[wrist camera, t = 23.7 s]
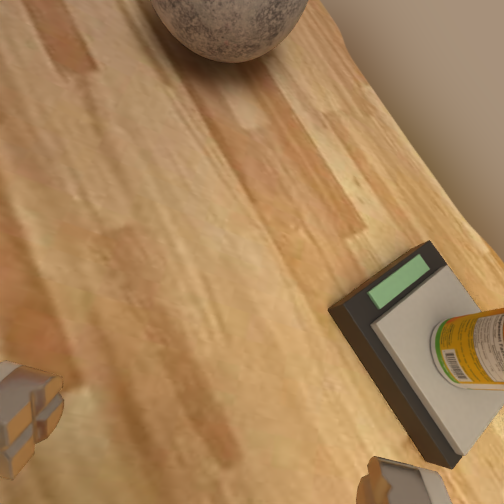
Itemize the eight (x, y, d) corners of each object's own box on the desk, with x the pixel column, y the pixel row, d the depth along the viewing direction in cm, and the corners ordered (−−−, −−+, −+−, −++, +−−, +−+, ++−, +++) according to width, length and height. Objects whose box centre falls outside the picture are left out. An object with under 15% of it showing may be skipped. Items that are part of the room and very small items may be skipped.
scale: (326, 309, 28) (348, 301, 25) (410, 249, 33) (436, 236, 30) (426, 462, 26) (462, 472, 23) (499, 372, 31) (536, 372, 28)
